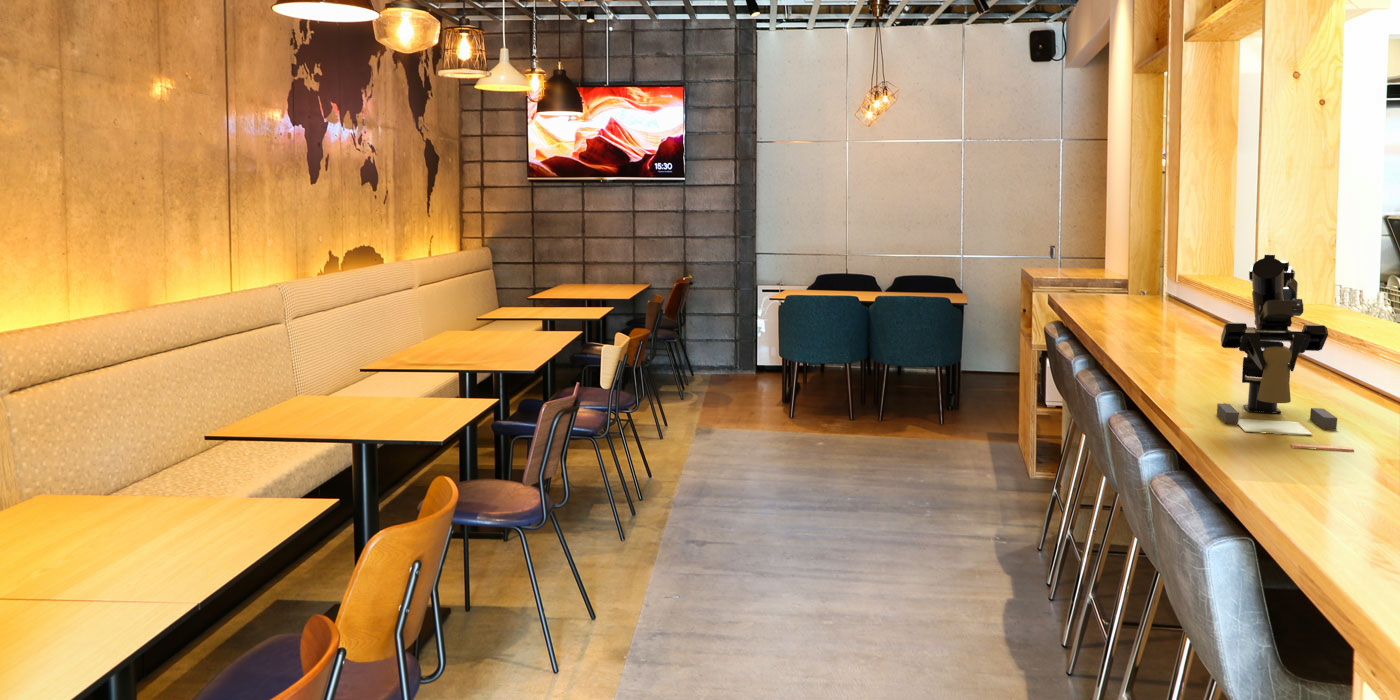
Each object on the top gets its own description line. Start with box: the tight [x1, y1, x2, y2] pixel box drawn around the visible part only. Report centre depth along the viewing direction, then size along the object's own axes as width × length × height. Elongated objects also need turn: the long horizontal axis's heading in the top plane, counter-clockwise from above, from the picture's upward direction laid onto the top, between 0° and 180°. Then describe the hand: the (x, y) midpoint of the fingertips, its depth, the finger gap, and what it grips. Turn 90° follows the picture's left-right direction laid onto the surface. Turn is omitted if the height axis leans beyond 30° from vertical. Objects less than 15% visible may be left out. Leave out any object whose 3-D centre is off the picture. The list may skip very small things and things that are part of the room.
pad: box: [1236, 418, 1313, 437], centre depth 210 cm, size 12×12×1 cm
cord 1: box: [1216, 403, 1240, 425], centre depth 218 cm, size 10×2×2 cm, turn 163°
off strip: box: [1290, 443, 1355, 453], centre depth 192 cm, size 2×10×1 cm, turn 73°
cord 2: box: [1309, 407, 1338, 430], centre depth 213 cm, size 10×2×2 cm, turn 163°
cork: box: [1257, 346, 1292, 404], centre depth 208 cm, size 6×6×11 cm
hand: (1277, 369), depth 207 cm, fingers closed on cork, 5 cm apart
